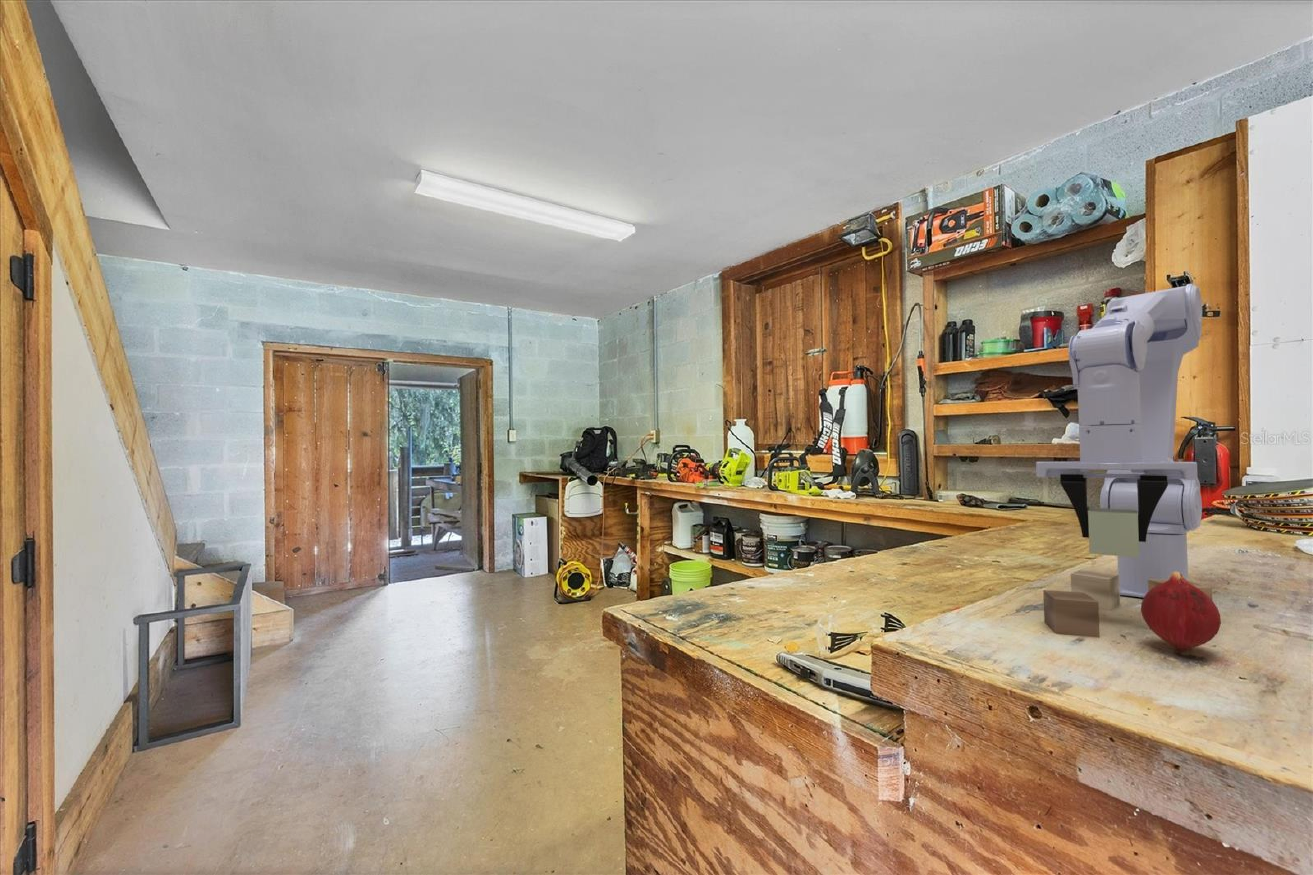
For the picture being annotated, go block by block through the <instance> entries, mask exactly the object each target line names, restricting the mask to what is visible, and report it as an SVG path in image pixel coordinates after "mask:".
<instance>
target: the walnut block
mask: <svg viewBox="0 0 1313 875" xmlns="http://www.w3.org/2000/svg"><path fill="white" fill-rule="evenodd" d="M1042 592H1043V616H1044V617H1043V619H1044V624H1045V625H1046V626H1048V628H1049V629H1051V630H1052V632H1054V634H1056V635H1064V636H1065V635H1067V636H1077V637H1086V638H1087V637H1088V638H1099V639H1100V636H1101V635H1100V611H1099V609H1100V608H1099V604H1098V601H1096V600H1095V599H1093V598H1092V597H1090V596H1088V595H1087V594H1085V593H1084V592H1071V591H1068V590H1065V591H1064V590H1051V589H1050V590H1049V589H1043V591H1042Z"/></svg>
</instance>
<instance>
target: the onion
mask: <svg viewBox="0 0 1313 875" xmlns="http://www.w3.org/2000/svg"><path fill="white" fill-rule="evenodd" d="M1188 581H1189V580H1188ZM1188 581H1187V580H1186V579H1185V578H1184V577H1183V575H1182V574H1181V573H1179V572H1176V571H1174V572H1173V573H1171V577H1170V579H1169V580H1168V581H1166V582H1164V583H1162V584H1159V585H1157V586H1155V587H1154V588H1152V589H1151V590H1150V591H1149V592H1148V593H1147V594H1146V595H1145V596H1144V598H1143V597H1142V598H1143V599H1142V600H1141V603H1140V604H1141V606H1140V612H1141V614H1142V618H1143V620H1144V621H1145V623H1146V625H1147V626H1148V627H1149V629H1150V630H1151V632H1152V633H1154V634H1155V635H1156V636H1157V637H1159V638H1160V639H1161V640H1163V641H1164V642H1166V643H1167V644H1168V645H1170V646H1171V647H1172V649H1175V650H1177V651H1179V652H1181V651H1182V652H1184V651H1188V650H1191V649H1193V648H1196V647H1199V646H1202V645H1204V644H1206V643H1208V642H1210V641H1212V640H1213V638H1214V637H1216V636H1217V634H1218V633H1219V630H1220V627H1221V624H1222V620H1221V614H1220V612H1219V608H1218V607H1217V605H1216V604H1215V602H1214V601H1213V599H1212V600H1211V599H1210V598H1209V596H1207V595H1206V594H1205V593H1204V592H1203V591H1202V590H1200V589H1199V588H1197V587H1195V586H1193V585H1192V584H1190V583H1189V582H1188Z"/></svg>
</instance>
